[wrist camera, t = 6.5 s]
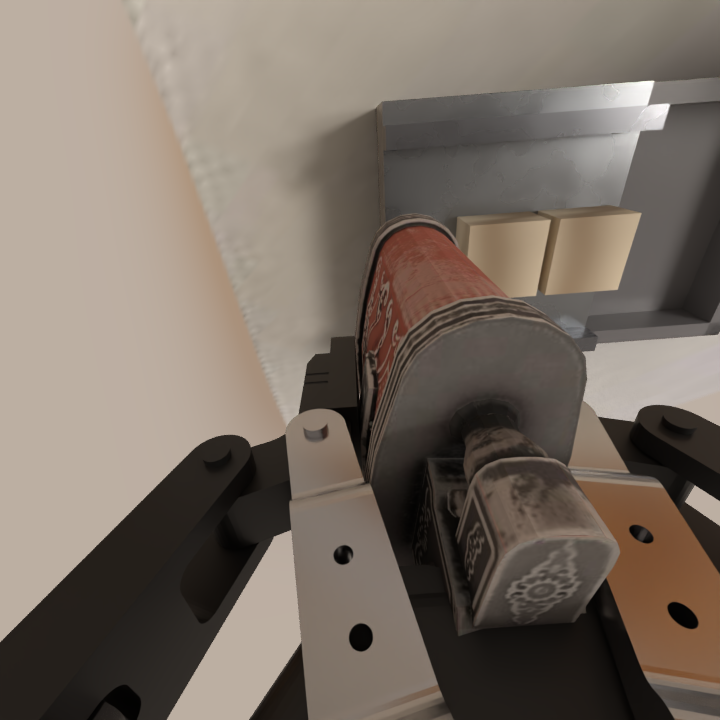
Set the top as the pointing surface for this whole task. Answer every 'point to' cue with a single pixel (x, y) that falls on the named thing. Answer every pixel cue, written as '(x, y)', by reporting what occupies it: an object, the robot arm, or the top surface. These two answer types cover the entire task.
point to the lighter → (474, 434)
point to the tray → (671, 224)
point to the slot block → (514, 161)
